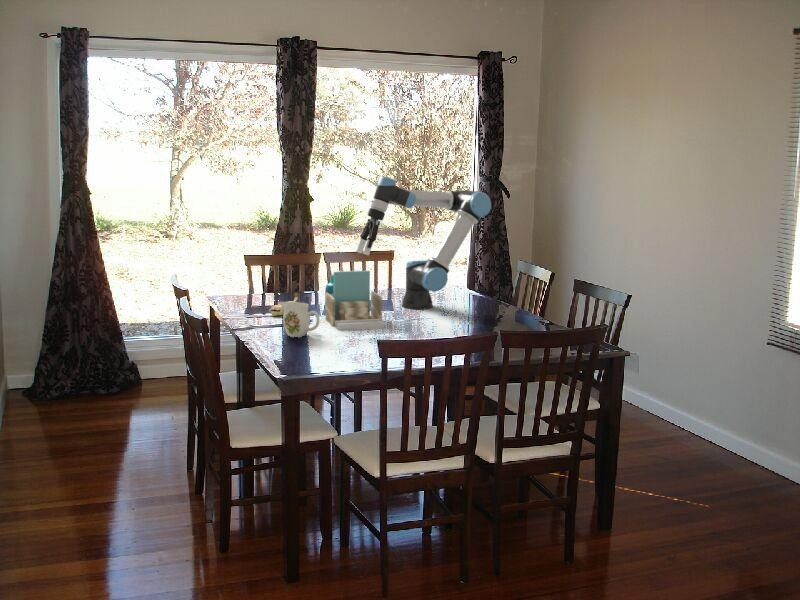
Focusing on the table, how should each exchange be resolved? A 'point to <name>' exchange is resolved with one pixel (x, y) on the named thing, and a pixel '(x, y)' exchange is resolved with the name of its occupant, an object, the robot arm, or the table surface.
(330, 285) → the vase
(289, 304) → the white floral mug
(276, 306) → the cat figure
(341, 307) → the offcut tall
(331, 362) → the table surface
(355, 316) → the offcut short
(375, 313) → the rack
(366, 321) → the stand
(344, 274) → the teal rectangular panel
